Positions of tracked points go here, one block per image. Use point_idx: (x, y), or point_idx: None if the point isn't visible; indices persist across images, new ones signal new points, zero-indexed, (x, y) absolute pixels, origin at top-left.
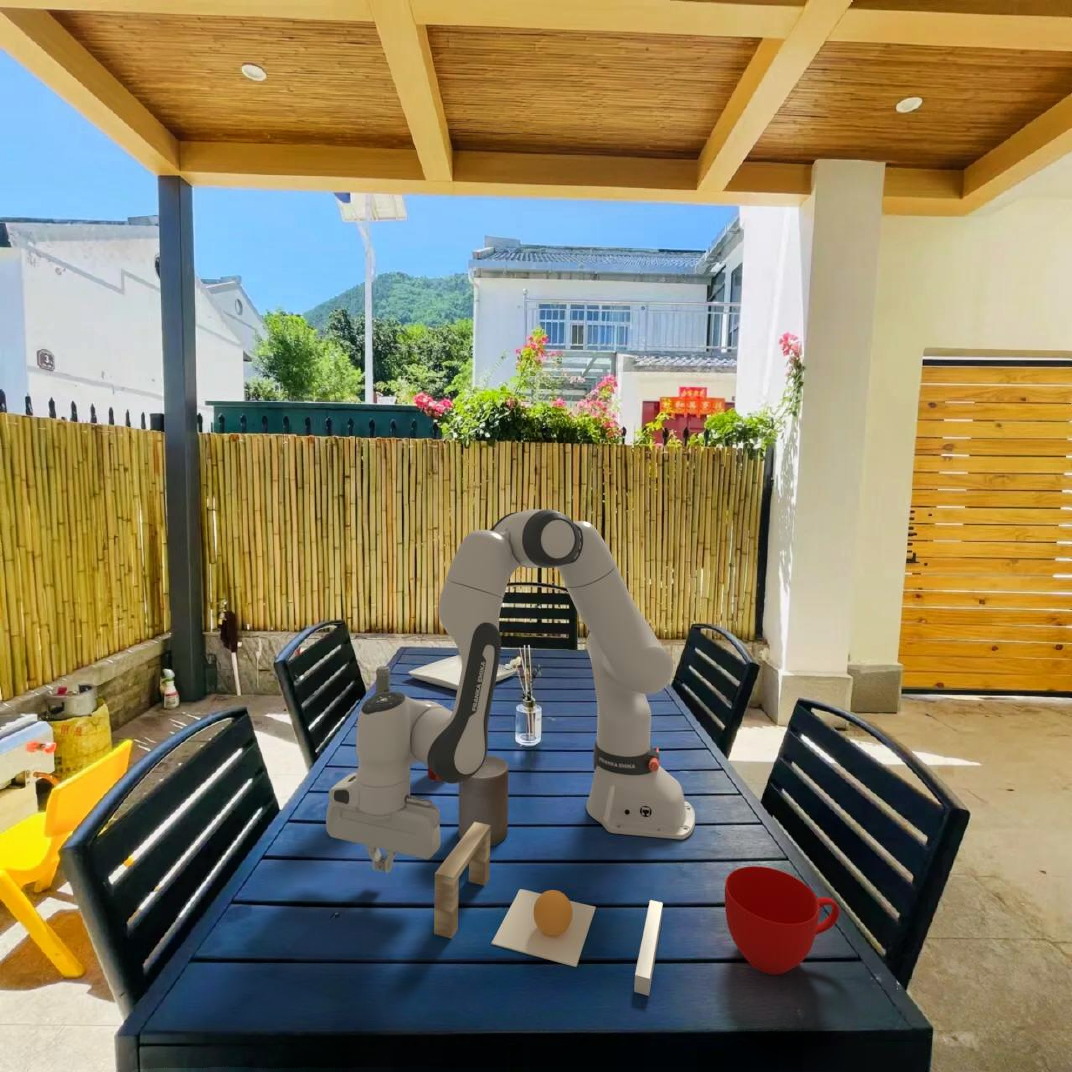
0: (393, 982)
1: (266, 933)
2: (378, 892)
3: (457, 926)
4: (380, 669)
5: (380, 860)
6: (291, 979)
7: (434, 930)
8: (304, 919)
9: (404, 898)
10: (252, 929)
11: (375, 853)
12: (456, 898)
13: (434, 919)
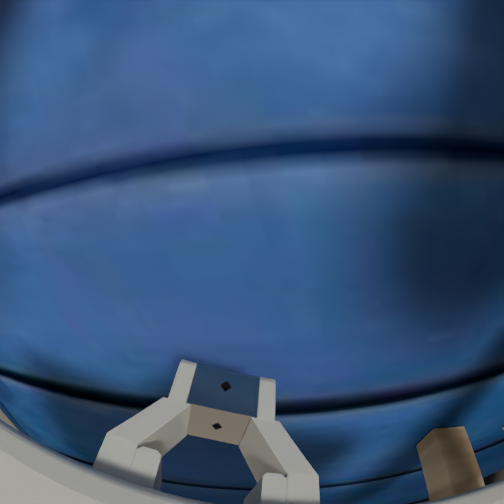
0: (339, 497)
1: (73, 437)
2: (237, 369)
3: (465, 432)
4: None
5: (208, 432)
6: (180, 494)
7: (418, 451)
8: (102, 426)
9: (342, 384)
10: (47, 424)
11: (166, 445)
12: None
13: (423, 472)
